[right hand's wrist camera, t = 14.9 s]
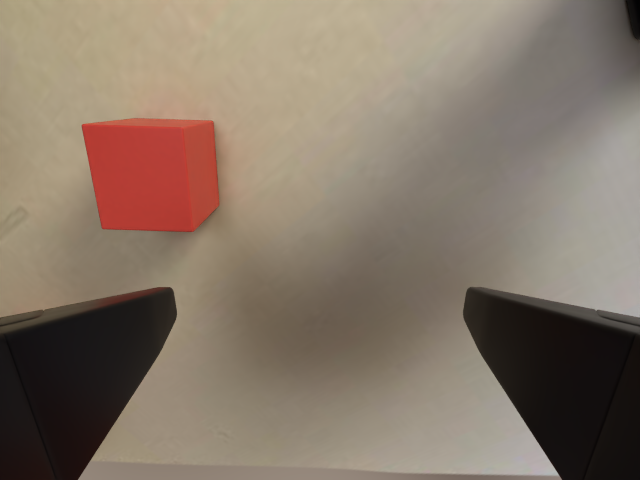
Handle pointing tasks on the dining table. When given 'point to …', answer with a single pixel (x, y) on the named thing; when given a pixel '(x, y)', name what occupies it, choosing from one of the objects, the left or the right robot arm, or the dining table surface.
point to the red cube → (153, 173)
